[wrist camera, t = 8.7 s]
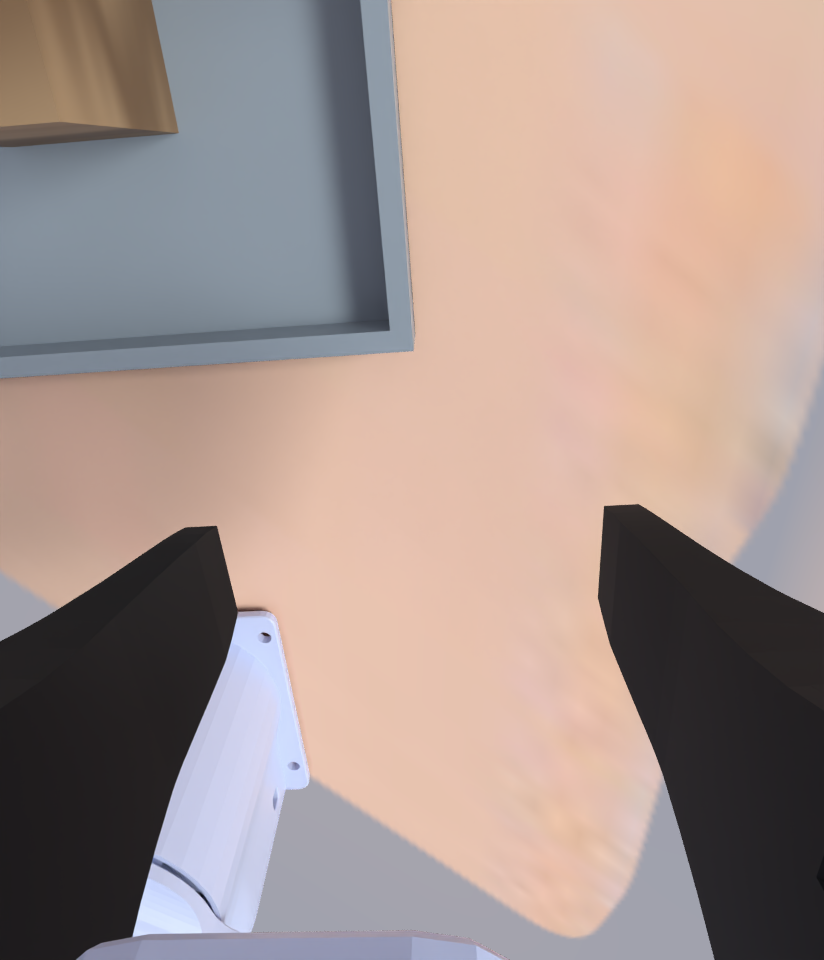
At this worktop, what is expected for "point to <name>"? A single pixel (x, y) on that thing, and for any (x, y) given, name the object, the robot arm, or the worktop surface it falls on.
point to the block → (81, 72)
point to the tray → (221, 205)
